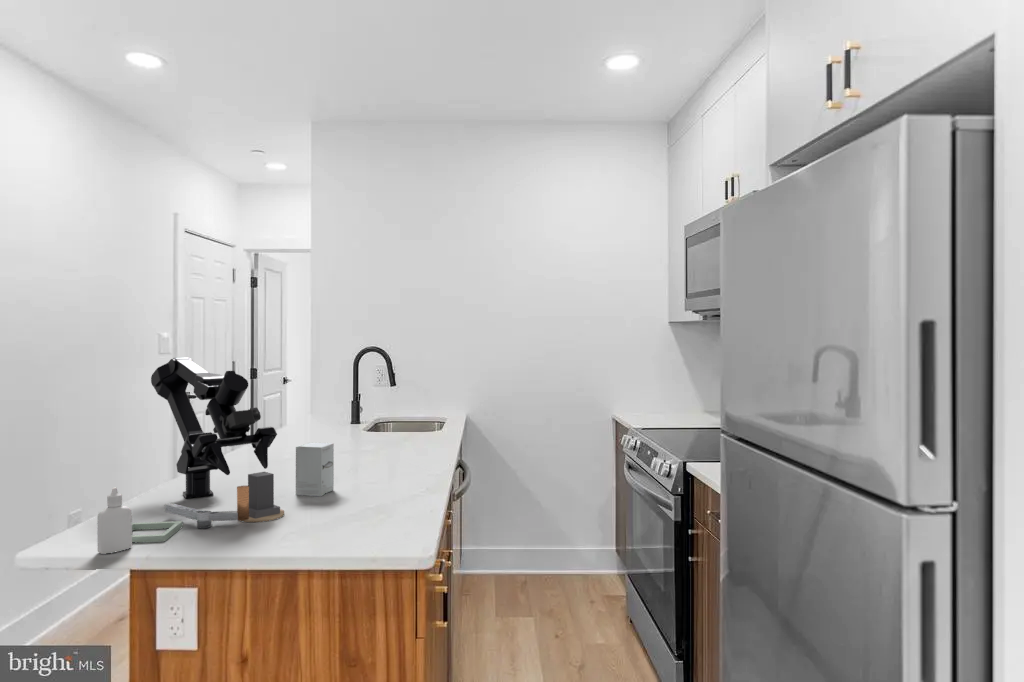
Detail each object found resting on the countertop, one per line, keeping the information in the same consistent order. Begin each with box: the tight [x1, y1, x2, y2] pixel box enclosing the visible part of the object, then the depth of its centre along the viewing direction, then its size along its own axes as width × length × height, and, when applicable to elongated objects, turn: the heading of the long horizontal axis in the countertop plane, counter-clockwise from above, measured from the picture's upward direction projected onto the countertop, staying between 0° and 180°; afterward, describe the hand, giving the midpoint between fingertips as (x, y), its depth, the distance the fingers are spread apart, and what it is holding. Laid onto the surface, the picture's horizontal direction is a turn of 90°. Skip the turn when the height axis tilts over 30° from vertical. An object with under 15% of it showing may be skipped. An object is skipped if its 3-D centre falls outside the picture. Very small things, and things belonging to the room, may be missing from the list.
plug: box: [247, 471, 281, 519], centre depth 153 cm, size 6×6×9 cm
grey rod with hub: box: [164, 485, 249, 529], centre depth 148 cm, size 21×8×8 cm, turn 56°
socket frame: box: [132, 520, 184, 544], centre depth 139 cm, size 10×10×1 cm
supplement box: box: [295, 442, 335, 497], centre depth 175 cm, size 7×7×13 cm
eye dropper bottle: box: [96, 487, 133, 555], centre depth 129 cm, size 4×6×12 cm
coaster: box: [243, 508, 285, 523], centre depth 153 cm, size 10×10×1 cm
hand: (248, 470), depth 156 cm, fingers open, 9 cm apart
